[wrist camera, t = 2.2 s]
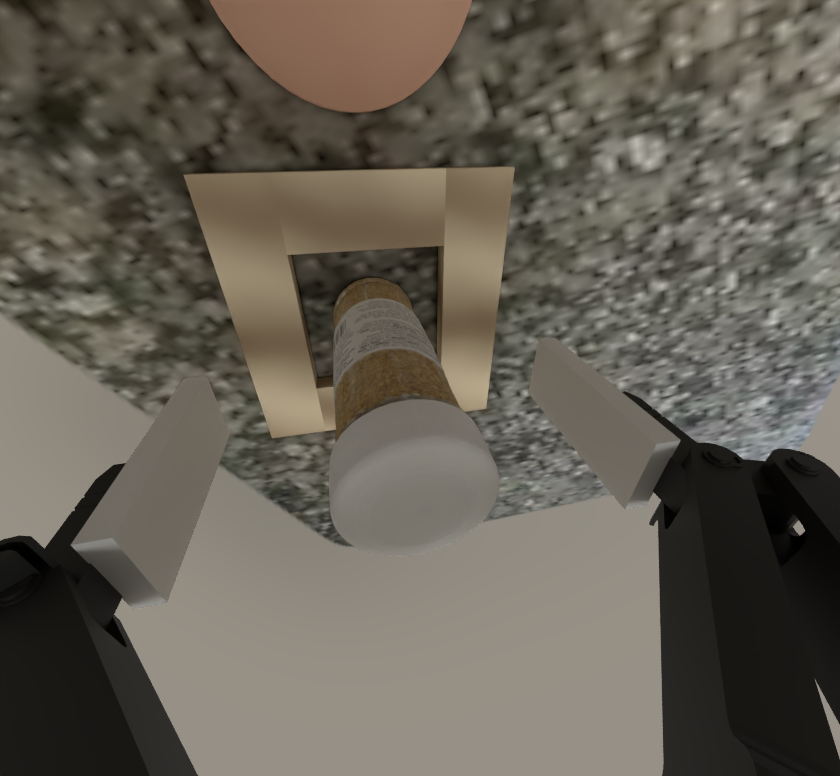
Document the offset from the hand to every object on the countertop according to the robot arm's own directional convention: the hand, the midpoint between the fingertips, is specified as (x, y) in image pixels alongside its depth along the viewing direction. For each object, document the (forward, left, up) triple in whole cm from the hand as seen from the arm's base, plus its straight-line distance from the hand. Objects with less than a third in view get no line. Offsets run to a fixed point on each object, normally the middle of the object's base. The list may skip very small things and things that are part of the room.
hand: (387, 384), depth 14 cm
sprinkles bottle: (0, 0, -7) cm, 7 cm away
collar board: (0, 0, -7) cm, 7 cm away
